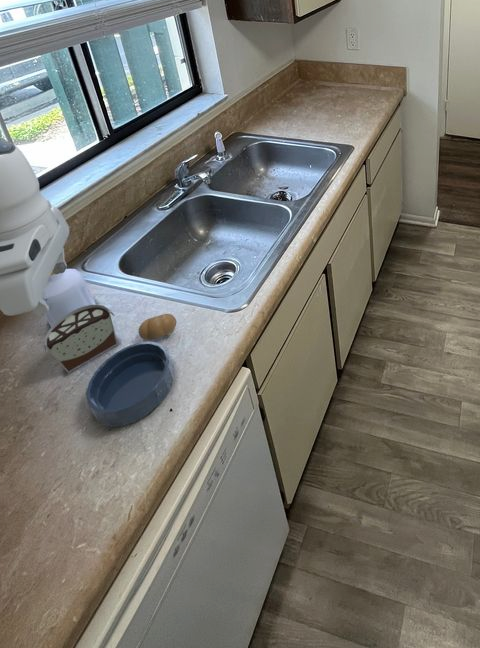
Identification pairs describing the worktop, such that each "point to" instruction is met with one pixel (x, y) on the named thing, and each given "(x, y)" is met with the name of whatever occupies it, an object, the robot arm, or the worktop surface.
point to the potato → (157, 327)
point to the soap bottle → (66, 294)
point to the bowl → (130, 384)
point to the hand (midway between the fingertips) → (53, 289)
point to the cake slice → (81, 336)
